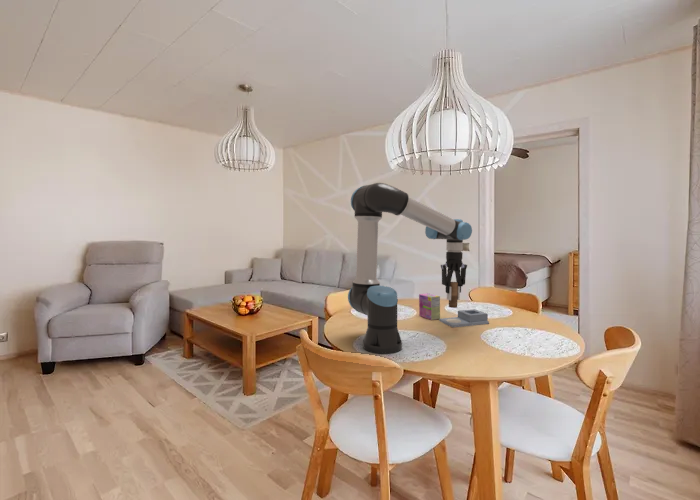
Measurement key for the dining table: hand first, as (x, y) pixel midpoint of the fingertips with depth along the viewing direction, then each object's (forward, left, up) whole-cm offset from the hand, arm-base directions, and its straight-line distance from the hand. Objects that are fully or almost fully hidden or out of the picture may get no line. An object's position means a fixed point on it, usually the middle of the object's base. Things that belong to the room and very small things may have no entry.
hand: (453, 299), depth 169 cm
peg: (0, 0, -4) cm, 4 cm away
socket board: (0, -6, -12) cm, 13 cm away
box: (+14, +5, -12) cm, 19 cm away
